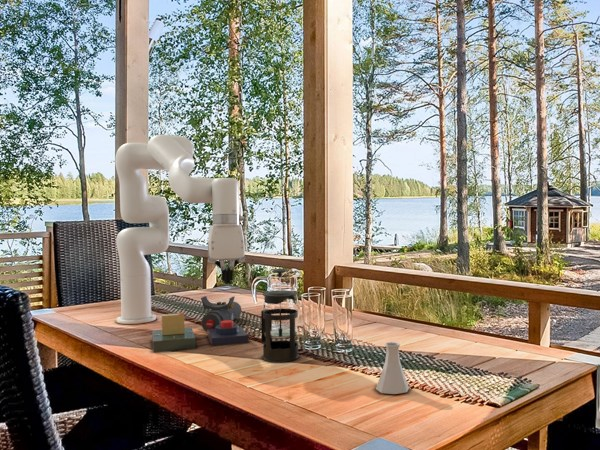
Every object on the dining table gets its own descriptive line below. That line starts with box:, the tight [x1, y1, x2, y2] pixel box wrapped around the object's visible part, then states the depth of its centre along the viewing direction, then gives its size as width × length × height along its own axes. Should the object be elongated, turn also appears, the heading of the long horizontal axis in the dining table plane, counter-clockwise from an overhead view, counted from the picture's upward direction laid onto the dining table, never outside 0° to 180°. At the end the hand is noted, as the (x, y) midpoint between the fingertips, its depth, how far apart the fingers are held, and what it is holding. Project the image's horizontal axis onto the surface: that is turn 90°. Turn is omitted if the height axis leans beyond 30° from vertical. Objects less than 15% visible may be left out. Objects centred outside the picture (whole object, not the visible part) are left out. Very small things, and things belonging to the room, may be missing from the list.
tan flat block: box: [161, 312, 186, 335], centre depth 161 cm, size 6×2×6 cm, turn 111°
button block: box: [206, 323, 249, 347], centre depth 167 cm, size 12×10×4 cm
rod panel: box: [151, 326, 197, 353], centre depth 161 cm, size 14×11×3 cm
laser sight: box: [200, 295, 242, 332], centre depth 185 cm, size 10×22×10 cm, turn 174°
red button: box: [221, 320, 234, 328], centre depth 167 cm, size 4×4×2 cm
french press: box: [260, 268, 300, 363], centre depth 148 cm, size 12×9×23 cm
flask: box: [375, 341, 410, 395], centre depth 123 cm, size 7×7×10 cm
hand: (227, 283), depth 166 cm, fingers closed
